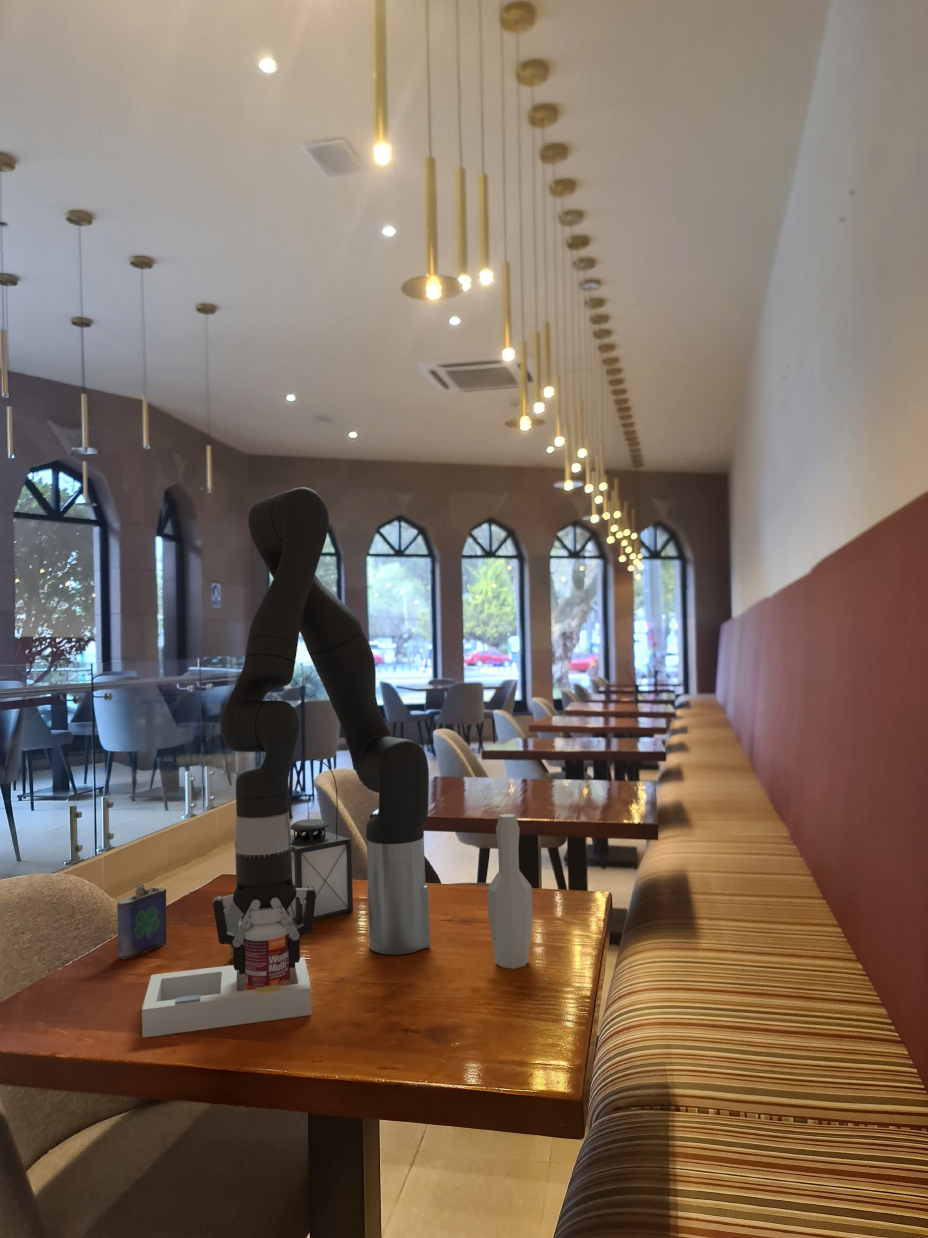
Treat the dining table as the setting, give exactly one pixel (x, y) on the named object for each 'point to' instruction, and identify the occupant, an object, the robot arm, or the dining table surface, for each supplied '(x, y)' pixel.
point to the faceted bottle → (510, 900)
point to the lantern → (321, 867)
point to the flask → (141, 922)
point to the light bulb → (233, 920)
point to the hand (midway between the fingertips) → (266, 968)
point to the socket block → (219, 1000)
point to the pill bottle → (266, 951)
